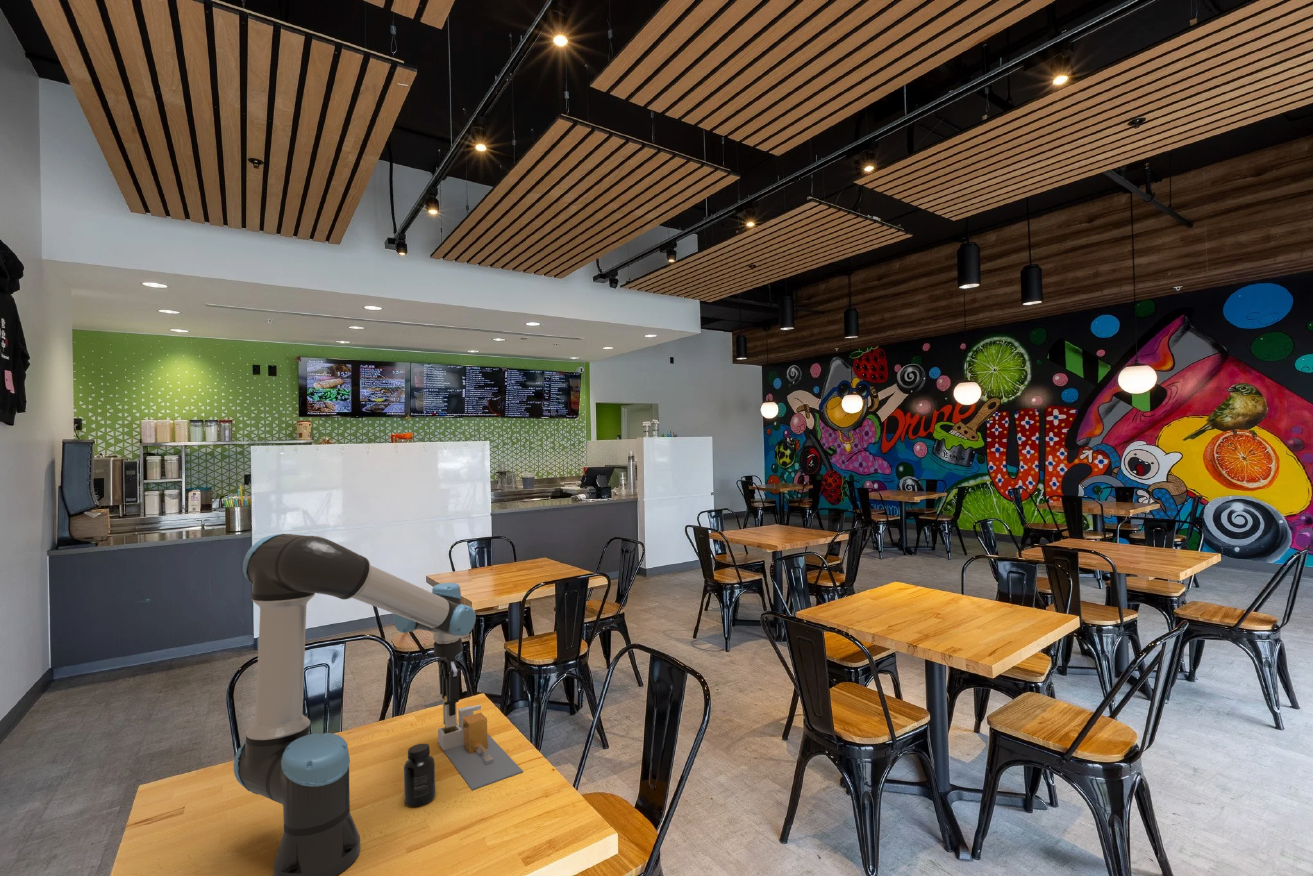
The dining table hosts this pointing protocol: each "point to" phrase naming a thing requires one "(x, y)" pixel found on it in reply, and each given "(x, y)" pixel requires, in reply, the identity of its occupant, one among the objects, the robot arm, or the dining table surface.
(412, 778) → the supplement bottle
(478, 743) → the orange block with fittings
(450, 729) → the pin
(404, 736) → the dining table surface
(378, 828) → the dining table surface
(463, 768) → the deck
